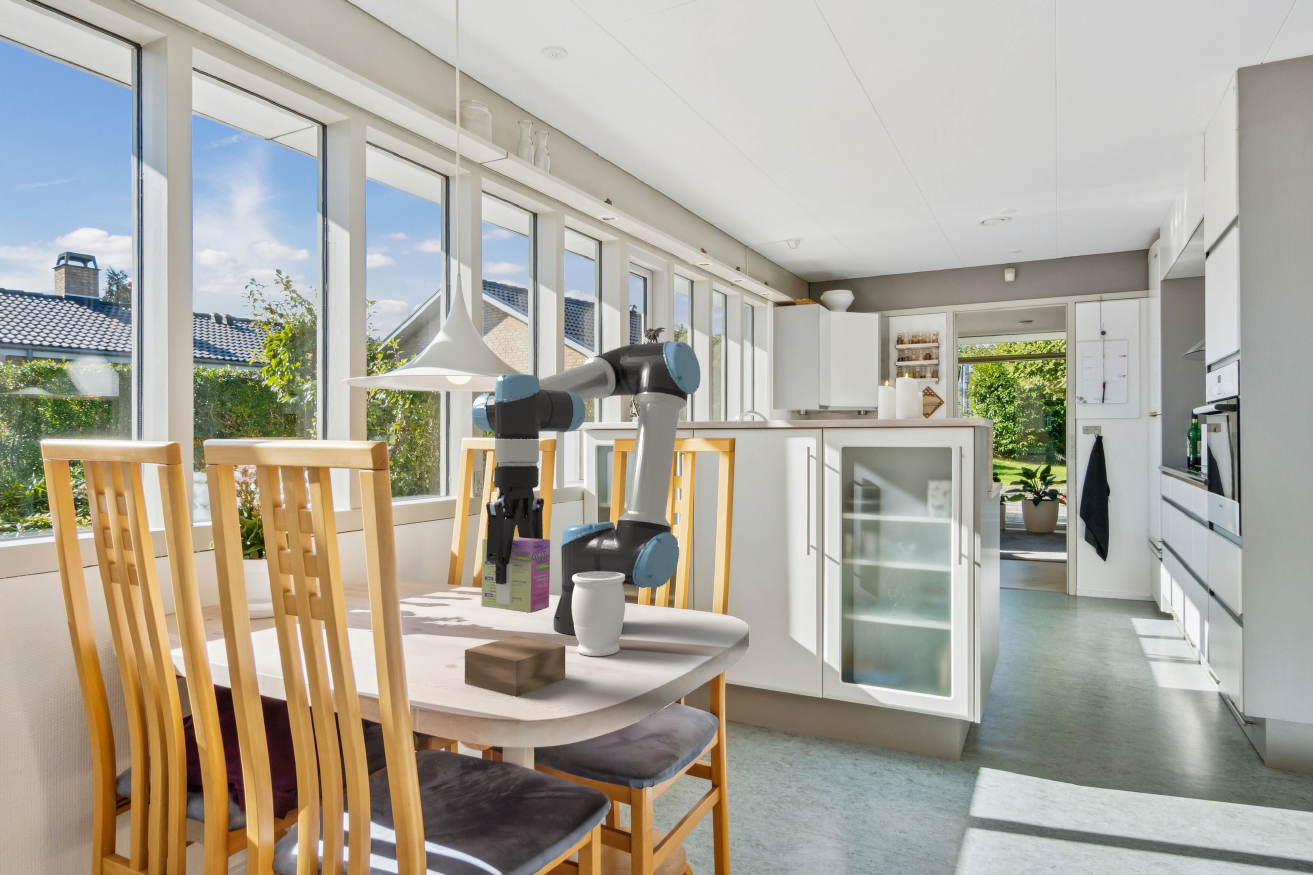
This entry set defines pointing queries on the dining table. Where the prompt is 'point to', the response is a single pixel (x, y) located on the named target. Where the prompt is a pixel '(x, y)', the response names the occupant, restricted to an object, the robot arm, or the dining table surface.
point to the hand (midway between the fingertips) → (515, 599)
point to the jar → (598, 611)
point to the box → (521, 576)
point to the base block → (514, 665)
